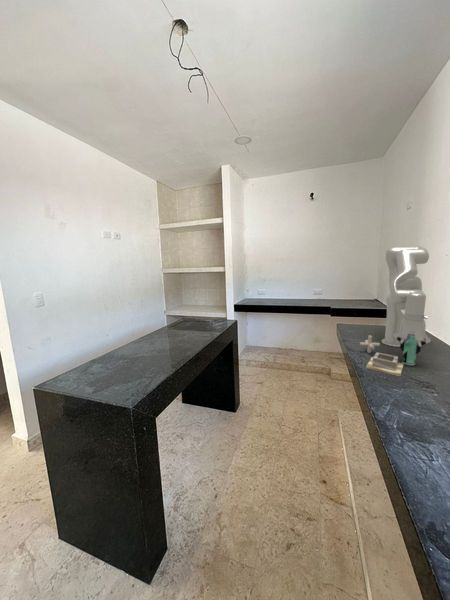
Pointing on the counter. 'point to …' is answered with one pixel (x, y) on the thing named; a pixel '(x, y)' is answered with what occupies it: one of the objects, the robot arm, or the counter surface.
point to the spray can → (410, 349)
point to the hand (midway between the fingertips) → (409, 351)
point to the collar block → (385, 364)
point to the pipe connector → (369, 344)
